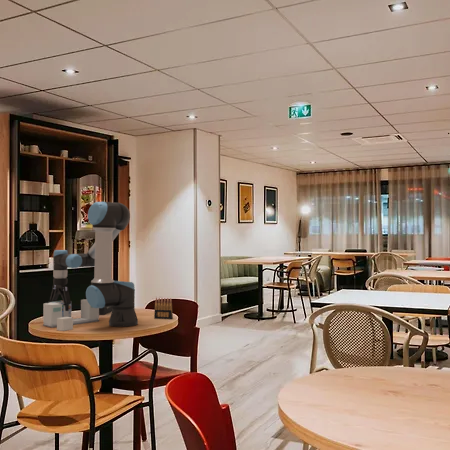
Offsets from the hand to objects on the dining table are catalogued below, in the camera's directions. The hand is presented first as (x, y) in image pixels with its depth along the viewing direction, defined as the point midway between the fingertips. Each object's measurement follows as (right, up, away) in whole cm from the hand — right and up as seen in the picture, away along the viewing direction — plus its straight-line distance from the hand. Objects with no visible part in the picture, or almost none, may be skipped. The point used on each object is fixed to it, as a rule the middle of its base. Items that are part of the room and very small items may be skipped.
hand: (60, 315), depth 288 cm
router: (+17, -4, +28) cm, 33 cm away
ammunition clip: (+57, -3, +5) cm, 58 cm away
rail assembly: (+9, -3, -9) cm, 13 cm away
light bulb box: (0, -3, 0) cm, 3 cm away
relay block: (+12, -2, -28) cm, 31 cm away
